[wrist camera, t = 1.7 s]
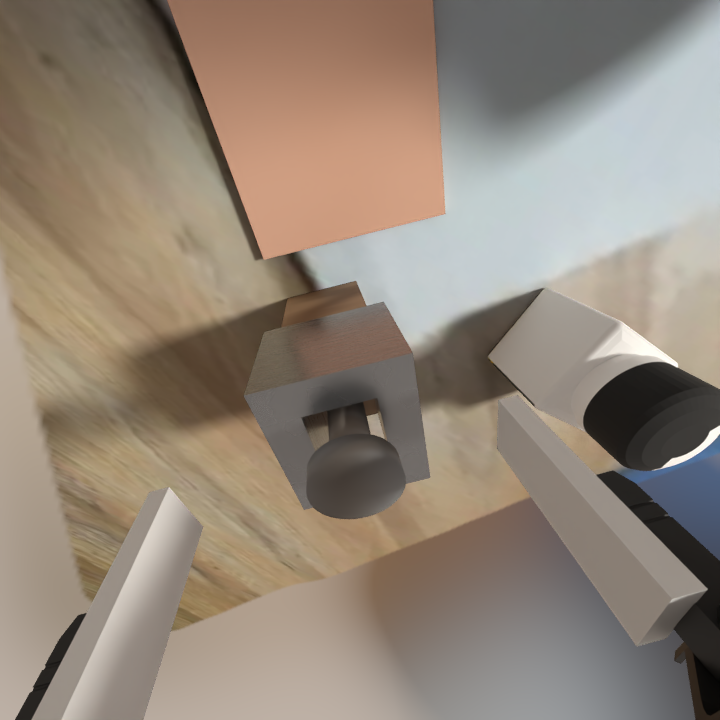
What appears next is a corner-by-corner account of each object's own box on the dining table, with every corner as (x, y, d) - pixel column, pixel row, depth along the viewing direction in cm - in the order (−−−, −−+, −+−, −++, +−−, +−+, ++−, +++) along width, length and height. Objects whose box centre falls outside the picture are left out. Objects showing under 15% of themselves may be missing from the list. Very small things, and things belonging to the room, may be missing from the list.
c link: (264, 331, 17) (243, 395, 12) (383, 301, 17) (412, 353, 12) (306, 431, 22) (304, 509, 16) (402, 406, 22) (430, 477, 16)
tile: (423, -73, 14) (428, -83, 13) (442, 213, 20) (445, 213, 20) (166, -9, 14) (161, -16, 13) (265, 257, 20) (263, 259, 20)
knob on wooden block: (356, 281, 22) (404, 396, 10) (376, 372, 26) (427, 527, 14) (287, 298, 22) (258, 433, 10) (319, 386, 26) (323, 553, 14)
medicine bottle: (484, 357, 27) (591, 468, 16) (544, 285, 24) (718, 364, 14) (538, 385, 29) (660, 497, 19) (597, 322, 26) (779, 414, 16)
